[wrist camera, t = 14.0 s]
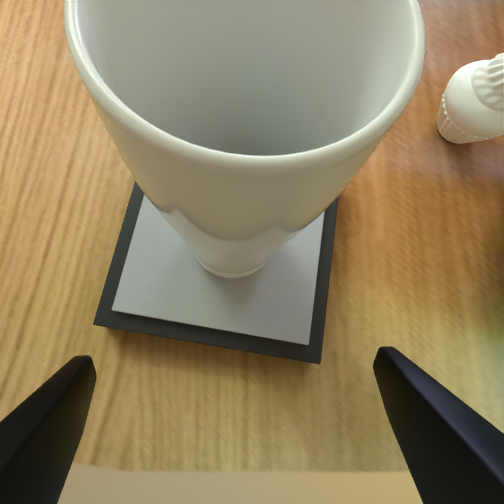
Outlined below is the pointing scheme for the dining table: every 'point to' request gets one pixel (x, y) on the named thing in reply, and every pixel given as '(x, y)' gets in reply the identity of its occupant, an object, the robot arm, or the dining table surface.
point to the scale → (219, 289)
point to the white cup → (245, 107)
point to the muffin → (474, 103)
